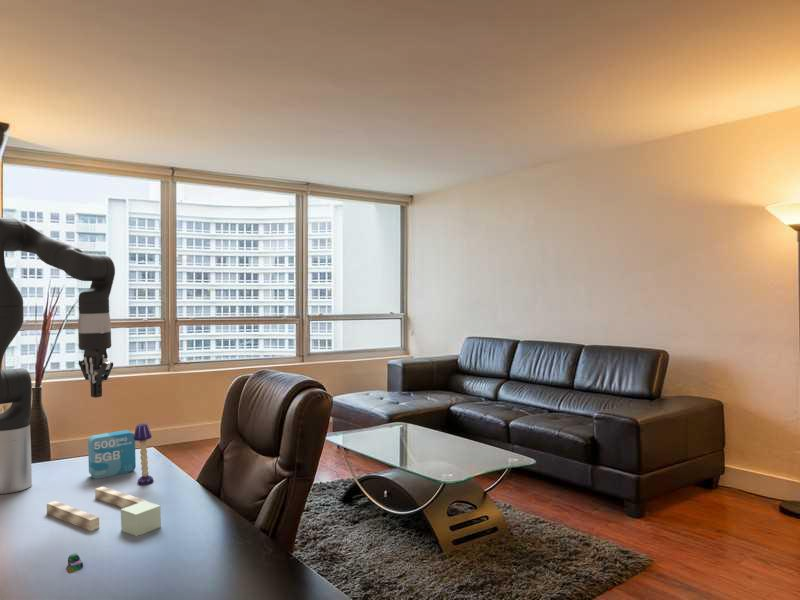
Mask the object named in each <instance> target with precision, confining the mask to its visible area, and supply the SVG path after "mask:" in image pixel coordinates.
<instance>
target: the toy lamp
mask: <svg viewBox="0 0 800 600" xmlns="http://www.w3.org/2000/svg"><path fill="white" fill-rule="evenodd" d="M133 434H134V440H135V442H136V441H137V442H139V444H140V445H139V449H140V454H139V455H140V465H141V469H140V470H141V476H140V477H139V478H138V479H137V485H138V484H139V485H140V486H145V485H151V484H153V483H154V477H153V476H151V475H150V474H149V466H148V464H149V463H148V450H147V448H148V446H147V441H148V440H150V439H151V438H152V437H153V436H152V433H151V430H150V427H149V425H148V424H147V423H140V424H137V425H136V426H135V430H134V433H133Z"/></svg>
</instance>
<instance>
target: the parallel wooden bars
mask: <svg viewBox="0 0 800 600" xmlns="http://www.w3.org/2000/svg"><path fill="white" fill-rule="evenodd" d="M94 495H95V496H94V497H95V499H97V500H100V501H102V502H105V503H108V504H112V505H115V506H116V507H117V506H118V507H119V508H122V509H123V508H126V507H129V506H131V505H134V504H137V503H140V502H143V501H147V502H148V500H147V499H142V498H141V497H137V496H133V495H130V494H128V493H124V492H121V491H118V490H115V489H111V488H108V487H105V486H100V487H96V488H94ZM46 514H47V515H49V516H52V517H55V518H57V519H59V520H63V521H65V522H67V523H70V524H72V525H74V526H77V527H80V528H83V529H85V530H88V531H90V532H92V531H95V530H97V529H100V517H99V516H97V515H95V514H92V513H89V512H86V511H84V510H82V509H78V508H75V507H72V506H70V505H68V504H65V503H62V502H59V501H57V500H53V501H50V502H47V503H46Z"/></svg>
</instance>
